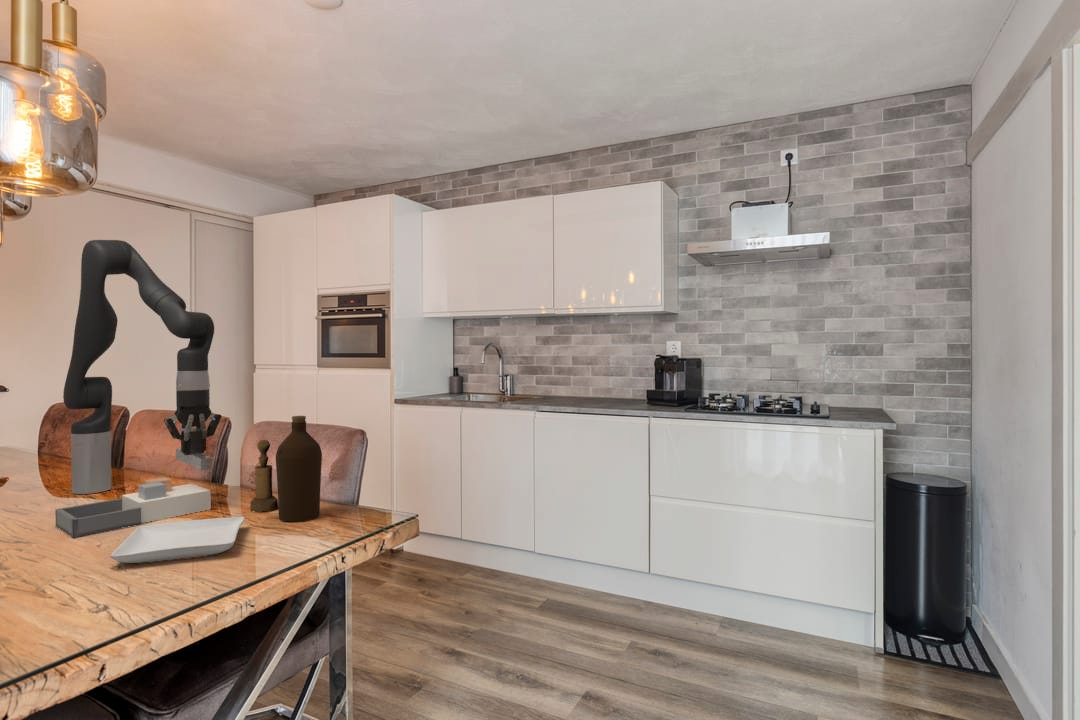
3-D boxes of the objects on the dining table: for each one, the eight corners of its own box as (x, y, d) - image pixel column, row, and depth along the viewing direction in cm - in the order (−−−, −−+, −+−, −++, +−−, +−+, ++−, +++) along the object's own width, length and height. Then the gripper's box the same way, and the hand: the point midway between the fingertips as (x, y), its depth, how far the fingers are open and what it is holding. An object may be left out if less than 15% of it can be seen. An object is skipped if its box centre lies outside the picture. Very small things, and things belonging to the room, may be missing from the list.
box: (55, 526, 139) (55, 509, 139) (120, 514, 149) (120, 498, 149) (73, 538, 131) (72, 520, 130) (141, 524, 141) (140, 507, 141)
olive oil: (309, 524, 142) (309, 419, 141) (267, 522, 143) (266, 418, 142) (329, 511, 152) (329, 414, 152) (290, 510, 153) (289, 413, 153)
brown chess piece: (244, 510, 153) (243, 441, 153) (264, 504, 159) (264, 437, 159) (263, 513, 150) (263, 442, 150) (283, 507, 156) (283, 439, 156)
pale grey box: (138, 497, 147) (138, 485, 146) (158, 493, 150) (158, 482, 150) (145, 500, 144) (144, 487, 144) (165, 496, 147) (165, 484, 147)
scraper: (174, 458, 160) (174, 425, 160) (186, 457, 163) (187, 424, 162) (199, 470, 150) (200, 435, 150) (211, 468, 153) (212, 434, 152)
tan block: (144, 491, 152) (144, 480, 152) (164, 488, 156) (164, 477, 155) (151, 494, 149) (151, 482, 149) (171, 491, 153) (171, 479, 153)
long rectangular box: (122, 514, 149) (122, 495, 149) (191, 502, 161) (191, 483, 161) (139, 523, 141) (139, 502, 141) (210, 509, 154) (210, 490, 154)
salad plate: (138, 539, 131) (138, 523, 131) (245, 528, 139) (245, 514, 139) (108, 573, 111) (107, 555, 111) (234, 559, 119) (234, 542, 119)
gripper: (214, 386, 164) (215, 449, 164) (157, 389, 153) (158, 456, 153) (227, 387, 159) (227, 451, 159) (168, 390, 148) (169, 459, 148)
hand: (193, 453), depth 156 cm, fingers closed on scraper, 3 cm apart
